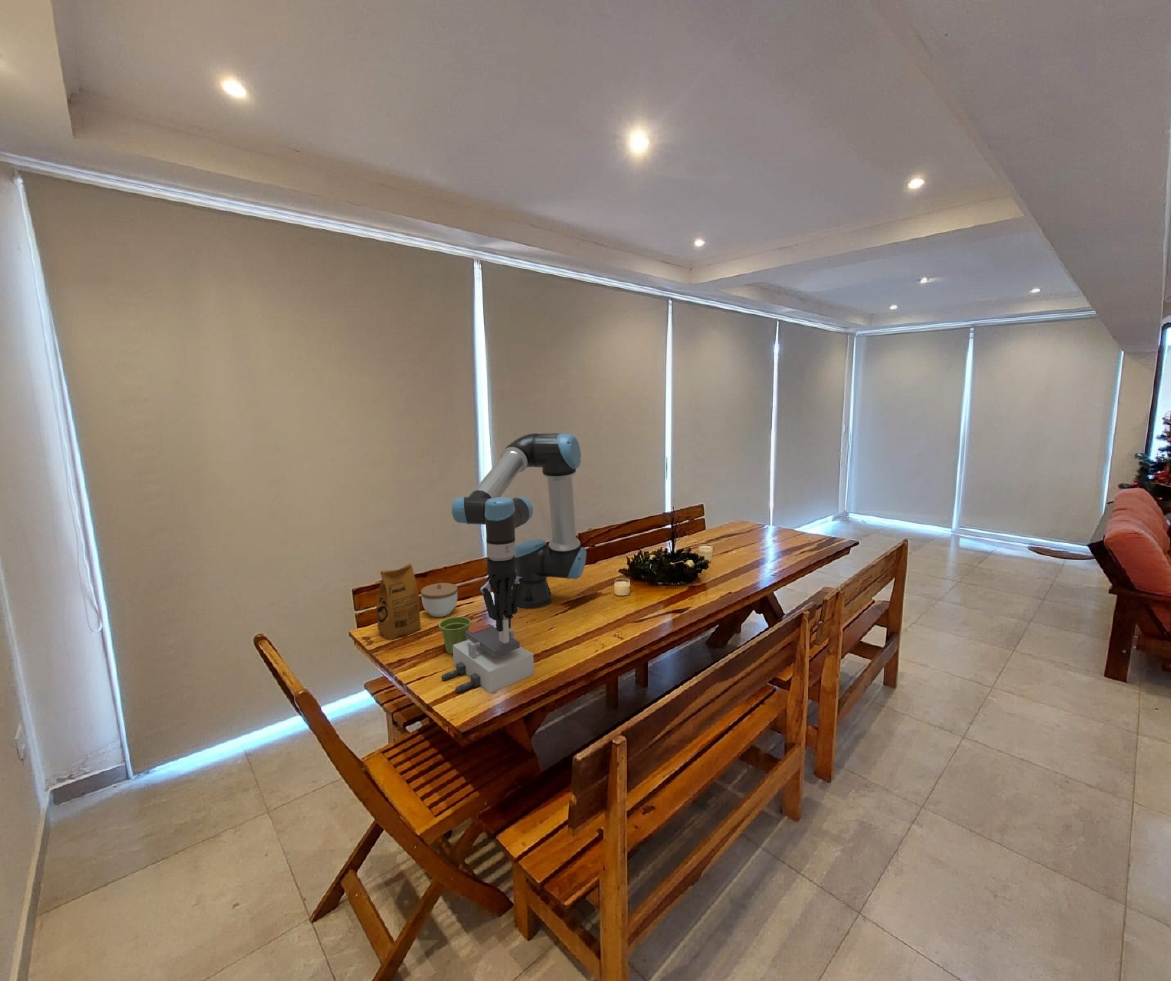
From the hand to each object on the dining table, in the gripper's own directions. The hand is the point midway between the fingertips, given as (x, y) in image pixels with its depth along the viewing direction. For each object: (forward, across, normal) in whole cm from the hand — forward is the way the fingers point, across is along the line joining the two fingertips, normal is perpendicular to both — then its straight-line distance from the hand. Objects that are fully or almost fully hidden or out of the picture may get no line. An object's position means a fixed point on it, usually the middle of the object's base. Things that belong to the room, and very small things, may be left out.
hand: (504, 640), depth 138 cm
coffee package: (+11, -10, +49) cm, 51 cm away
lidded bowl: (+11, +7, +54) cm, 55 cm away
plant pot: (+11, -2, +25) cm, 27 cm away
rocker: (+2, 0, +7) cm, 7 cm away
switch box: (+11, -3, +7) cm, 13 cm away
